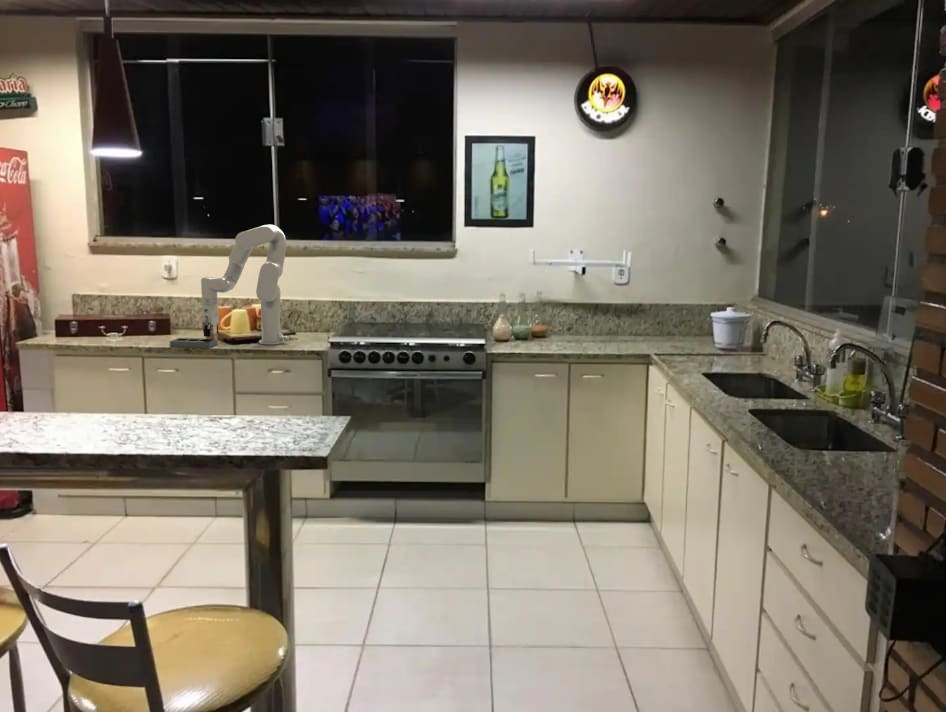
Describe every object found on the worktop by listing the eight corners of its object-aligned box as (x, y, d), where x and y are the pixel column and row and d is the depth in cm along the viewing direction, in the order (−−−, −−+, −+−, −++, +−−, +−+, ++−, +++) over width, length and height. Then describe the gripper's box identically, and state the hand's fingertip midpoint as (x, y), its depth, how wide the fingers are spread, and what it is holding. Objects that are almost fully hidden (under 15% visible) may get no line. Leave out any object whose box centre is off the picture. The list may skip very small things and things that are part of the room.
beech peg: (217, 341, 397) (216, 322, 395) (214, 342, 393) (213, 323, 391) (209, 341, 397) (208, 322, 395) (206, 342, 393) (205, 323, 391)
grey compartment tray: (217, 344, 388) (217, 338, 387) (209, 348, 378) (209, 342, 377) (179, 343, 389) (179, 337, 389) (170, 347, 379) (169, 341, 379)
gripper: (209, 304, 382) (211, 338, 385) (223, 299, 399) (224, 332, 402) (195, 303, 383) (196, 337, 386) (209, 299, 399) (211, 331, 403)
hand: (211, 334), depth 394 cm, fingers open, 9 cm apart
